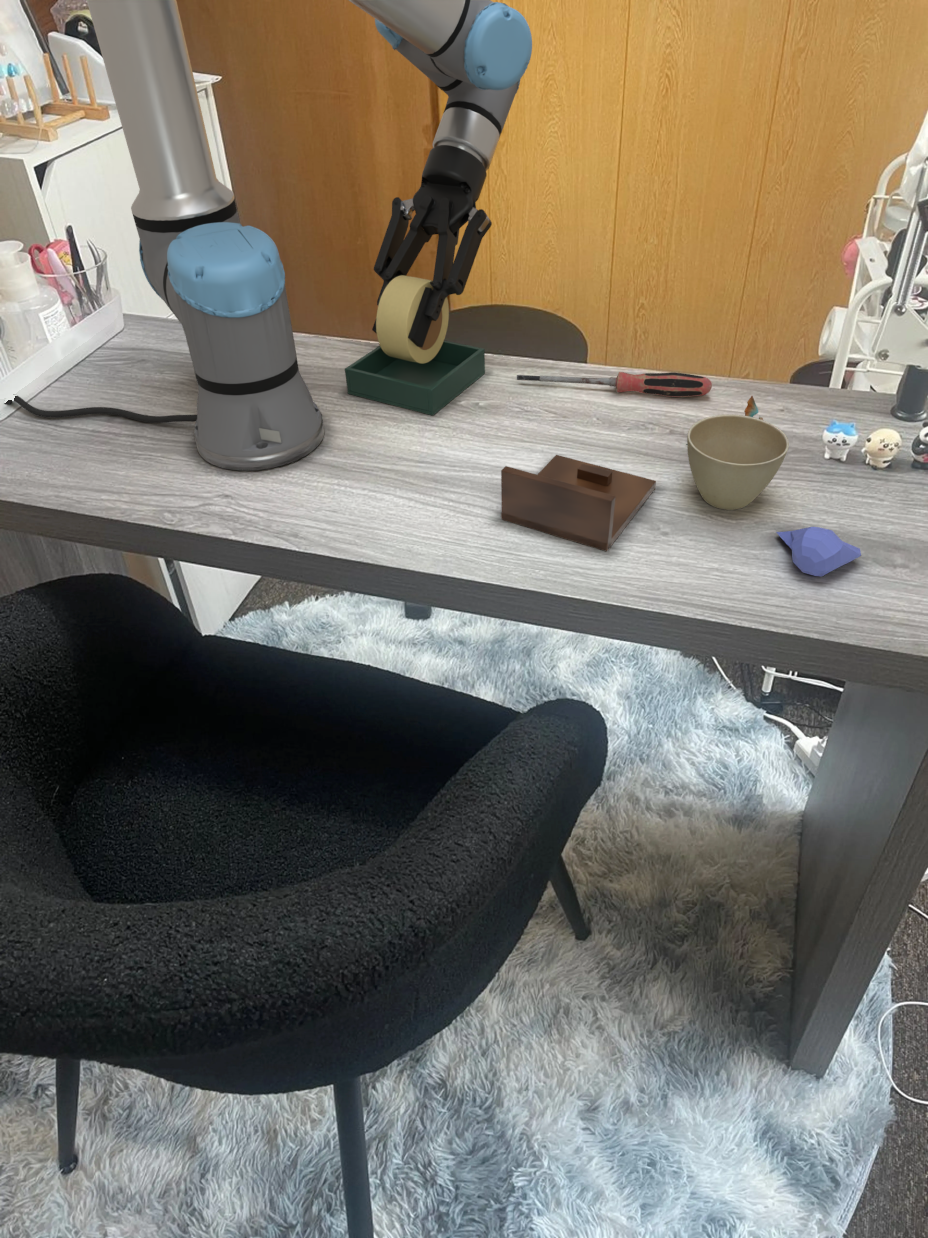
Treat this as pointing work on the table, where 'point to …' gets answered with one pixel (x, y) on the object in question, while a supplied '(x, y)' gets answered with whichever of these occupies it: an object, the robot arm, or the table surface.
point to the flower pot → (734, 458)
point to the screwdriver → (642, 383)
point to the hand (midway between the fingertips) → (397, 338)
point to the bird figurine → (818, 550)
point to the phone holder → (574, 500)
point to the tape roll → (408, 320)
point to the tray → (416, 377)
